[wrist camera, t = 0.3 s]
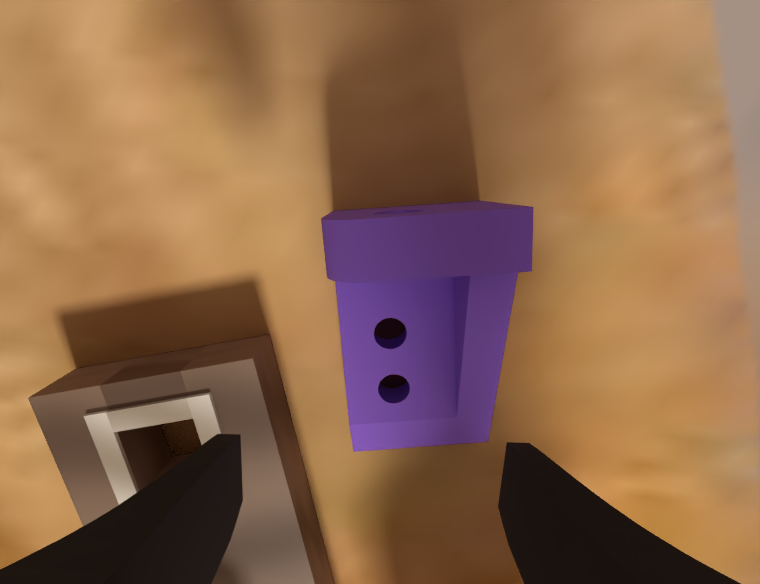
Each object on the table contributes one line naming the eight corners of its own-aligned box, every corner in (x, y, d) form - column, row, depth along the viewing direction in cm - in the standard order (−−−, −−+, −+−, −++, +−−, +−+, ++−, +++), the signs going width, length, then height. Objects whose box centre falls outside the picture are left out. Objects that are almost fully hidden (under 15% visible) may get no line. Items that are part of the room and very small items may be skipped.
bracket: (334, 210, 20) (315, 222, 13) (478, 200, 20) (533, 206, 13) (354, 434, 23) (348, 537, 16) (479, 424, 23) (525, 523, 16)
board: (347, 634, 26) (344, 696, 22) (190, 660, 26) (165, 724, 23) (269, 334, 21) (251, 360, 18) (75, 368, 21) (24, 400, 18)
